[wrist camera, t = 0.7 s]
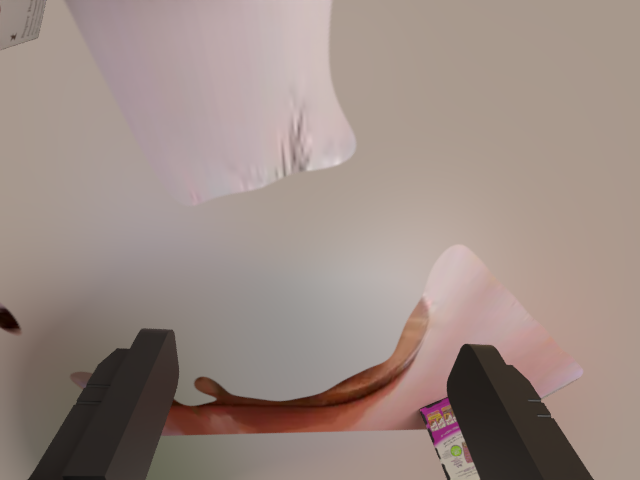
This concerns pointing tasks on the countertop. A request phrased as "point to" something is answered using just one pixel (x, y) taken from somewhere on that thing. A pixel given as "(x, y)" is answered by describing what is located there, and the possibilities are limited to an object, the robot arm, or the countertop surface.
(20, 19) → the supplement box
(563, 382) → the countertop surface
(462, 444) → the candy bar box
